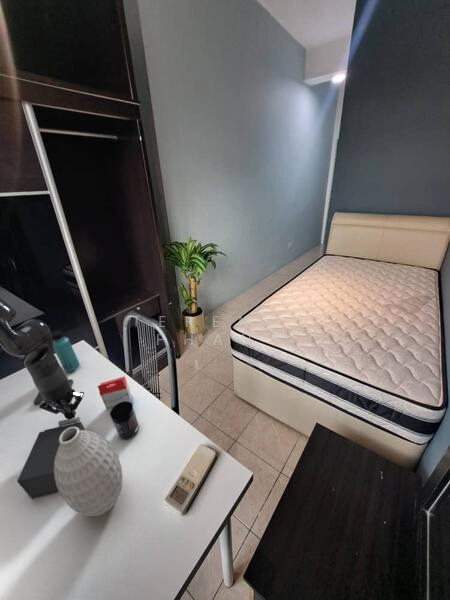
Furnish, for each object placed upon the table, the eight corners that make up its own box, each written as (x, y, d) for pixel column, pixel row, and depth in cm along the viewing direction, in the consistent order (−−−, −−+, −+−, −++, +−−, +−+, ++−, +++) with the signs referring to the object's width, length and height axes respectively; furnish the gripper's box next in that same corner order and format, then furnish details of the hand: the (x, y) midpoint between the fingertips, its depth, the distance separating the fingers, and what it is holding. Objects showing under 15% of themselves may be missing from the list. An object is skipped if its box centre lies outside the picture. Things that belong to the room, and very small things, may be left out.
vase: (115, 463, 73) (85, 399, 60) (140, 494, 66) (112, 429, 53) (71, 504, 65) (24, 439, 51) (93, 544, 58) (46, 482, 44)
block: (35, 405, 94) (31, 399, 92) (44, 387, 101) (41, 381, 100) (66, 399, 96) (63, 392, 94) (73, 381, 103) (70, 375, 102)
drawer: (58, 431, 83) (49, 417, 79) (91, 424, 84) (84, 410, 81) (36, 487, 68) (25, 473, 65) (77, 476, 70) (68, 462, 66)
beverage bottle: (79, 361, 114) (63, 326, 105) (82, 369, 110) (66, 333, 100) (63, 368, 111) (45, 332, 101) (66, 376, 106) (48, 339, 97)
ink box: (132, 397, 95) (123, 369, 88) (133, 407, 91) (123, 379, 84) (109, 405, 92) (97, 376, 85) (108, 416, 88) (96, 387, 81)
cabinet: (51, 450, 78) (39, 432, 74) (90, 440, 80) (81, 422, 76) (32, 499, 66) (16, 481, 62) (78, 486, 68) (66, 468, 64)
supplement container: (122, 421, 86) (115, 401, 81) (142, 421, 85) (135, 400, 80) (115, 441, 80) (106, 420, 75) (135, 440, 80) (128, 419, 75)
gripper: (78, 367, 78) (95, 403, 87) (32, 376, 76) (54, 412, 84) (71, 385, 72) (90, 422, 80) (21, 395, 70) (45, 432, 78)
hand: (71, 417), depth 82 cm, fingers closed
